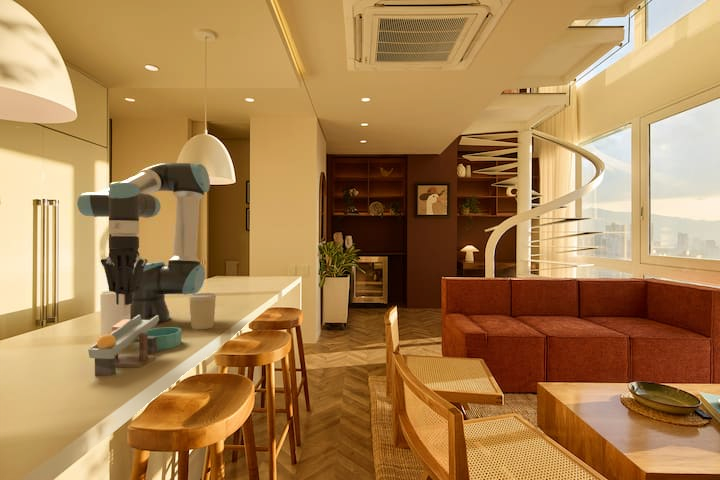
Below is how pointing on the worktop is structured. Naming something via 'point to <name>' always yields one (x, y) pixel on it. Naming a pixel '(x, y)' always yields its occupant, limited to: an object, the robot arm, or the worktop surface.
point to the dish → (166, 337)
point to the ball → (106, 342)
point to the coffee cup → (202, 310)
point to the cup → (109, 312)
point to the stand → (128, 357)
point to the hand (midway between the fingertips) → (124, 315)
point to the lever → (123, 336)
